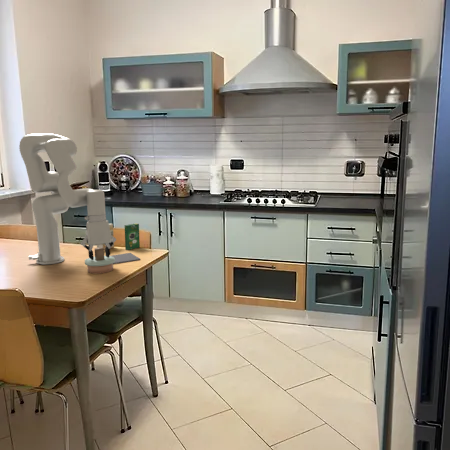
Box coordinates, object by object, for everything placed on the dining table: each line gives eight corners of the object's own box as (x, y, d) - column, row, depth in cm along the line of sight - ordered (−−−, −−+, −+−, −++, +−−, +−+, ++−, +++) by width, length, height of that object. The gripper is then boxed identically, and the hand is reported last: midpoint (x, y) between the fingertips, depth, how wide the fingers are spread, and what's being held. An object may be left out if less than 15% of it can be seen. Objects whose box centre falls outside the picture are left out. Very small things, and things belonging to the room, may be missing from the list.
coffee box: (136, 246, 254) (135, 222, 251) (140, 247, 252) (139, 223, 249) (125, 249, 247) (123, 225, 245) (128, 250, 246) (127, 225, 243)
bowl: (91, 275, 204) (91, 266, 203) (84, 269, 213) (84, 261, 212) (116, 270, 209) (116, 263, 209) (108, 265, 219) (108, 257, 218)
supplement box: (103, 250, 246) (101, 226, 243) (96, 249, 248) (95, 225, 246) (114, 247, 252) (113, 223, 250) (108, 246, 255) (106, 222, 252)
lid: (89, 267, 202) (88, 253, 201) (81, 261, 213) (80, 247, 211) (118, 263, 208) (118, 249, 207) (109, 256, 219) (109, 243, 218)
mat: (111, 264, 220) (111, 263, 220) (102, 257, 232) (102, 256, 231) (140, 260, 227) (140, 258, 227) (130, 253, 239) (130, 252, 238)
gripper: (79, 221, 199) (82, 263, 203) (119, 217, 208) (121, 257, 211) (74, 219, 205) (77, 259, 209) (113, 215, 214) (116, 253, 218)
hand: (99, 257), depth 210 cm, fingers open, 6 cm apart
